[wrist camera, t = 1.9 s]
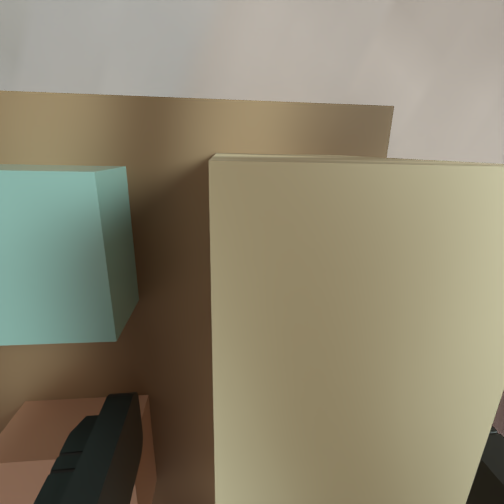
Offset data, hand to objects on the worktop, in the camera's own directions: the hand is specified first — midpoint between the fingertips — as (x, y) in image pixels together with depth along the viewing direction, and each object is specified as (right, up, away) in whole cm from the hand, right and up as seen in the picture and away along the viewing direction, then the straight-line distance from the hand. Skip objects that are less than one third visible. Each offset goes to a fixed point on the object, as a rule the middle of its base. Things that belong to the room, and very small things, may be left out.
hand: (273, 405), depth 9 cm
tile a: (-7, +5, +1) cm, 9 cm away
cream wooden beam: (0, +1, +3) cm, 3 cm away
